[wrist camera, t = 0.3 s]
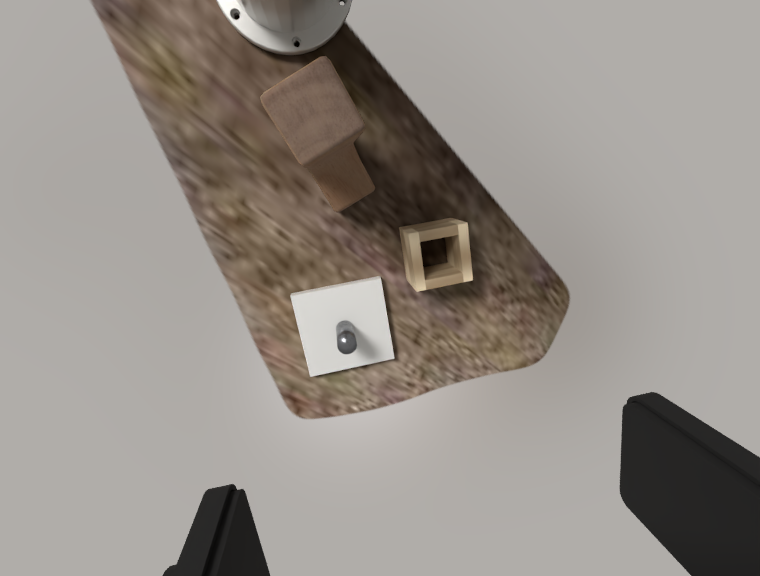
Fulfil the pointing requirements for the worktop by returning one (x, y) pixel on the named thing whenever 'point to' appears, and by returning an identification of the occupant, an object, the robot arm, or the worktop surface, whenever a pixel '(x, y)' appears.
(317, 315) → the pin plate
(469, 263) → the maple collar
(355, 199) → the wooden block
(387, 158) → the worktop surface
